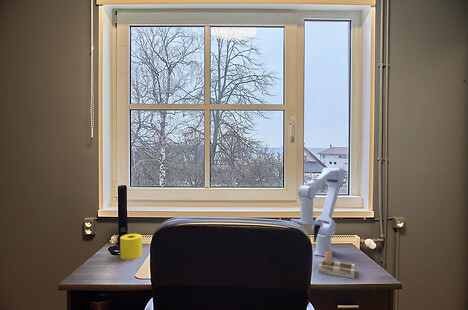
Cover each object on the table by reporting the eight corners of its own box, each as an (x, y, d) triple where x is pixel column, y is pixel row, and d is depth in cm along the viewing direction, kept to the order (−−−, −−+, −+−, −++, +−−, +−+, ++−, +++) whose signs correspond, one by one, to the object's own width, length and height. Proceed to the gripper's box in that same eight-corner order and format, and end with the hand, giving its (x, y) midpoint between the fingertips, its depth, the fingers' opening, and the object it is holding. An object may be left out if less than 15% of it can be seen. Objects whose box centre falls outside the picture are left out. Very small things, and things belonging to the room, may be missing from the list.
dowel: (325, 265, 131) (325, 250, 131) (332, 267, 130) (332, 251, 130) (323, 268, 128) (324, 252, 128) (331, 269, 127) (331, 253, 127)
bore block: (321, 265, 134) (321, 259, 134) (354, 270, 129) (354, 264, 129) (318, 272, 127) (318, 265, 127) (354, 278, 121) (354, 271, 121)
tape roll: (125, 252, 152) (125, 233, 152) (144, 252, 151) (144, 233, 151) (116, 259, 142) (116, 239, 142) (137, 259, 141) (137, 240, 141)
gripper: (289, 211, 138) (289, 240, 138) (321, 214, 132) (321, 244, 132) (292, 208, 144) (292, 236, 145) (323, 211, 139) (323, 240, 139)
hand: (306, 240), depth 139 cm, fingers open, 7 cm apart
